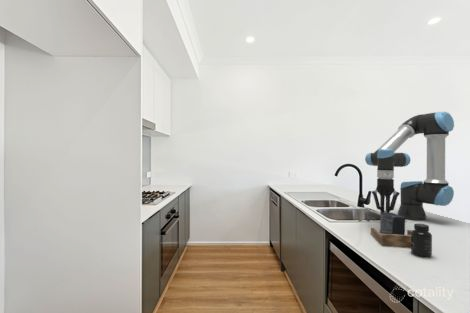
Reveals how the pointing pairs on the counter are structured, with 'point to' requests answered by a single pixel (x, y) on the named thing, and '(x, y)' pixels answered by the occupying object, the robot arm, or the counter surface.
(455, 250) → the counter surface
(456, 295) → the counter surface
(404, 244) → the channel
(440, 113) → the robot arm
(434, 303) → the counter surface
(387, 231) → the small box
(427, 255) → the supplement bottle
